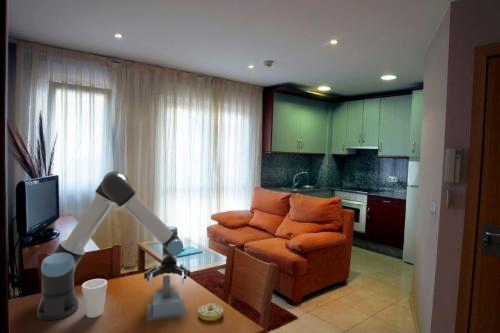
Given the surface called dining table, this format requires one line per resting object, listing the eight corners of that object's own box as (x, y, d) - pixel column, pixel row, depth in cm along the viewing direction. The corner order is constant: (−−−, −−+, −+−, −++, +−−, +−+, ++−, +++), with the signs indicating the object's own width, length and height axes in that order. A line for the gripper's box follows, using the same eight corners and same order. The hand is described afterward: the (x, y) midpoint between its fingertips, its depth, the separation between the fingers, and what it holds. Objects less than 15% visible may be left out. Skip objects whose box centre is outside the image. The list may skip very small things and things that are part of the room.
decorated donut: (224, 310, 137) (224, 301, 137) (221, 323, 126) (221, 314, 126) (200, 309, 137) (201, 300, 137) (196, 322, 126) (196, 313, 126)
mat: (146, 321, 126) (146, 320, 126) (147, 304, 139) (147, 304, 139) (186, 316, 130) (186, 315, 130) (183, 300, 144) (183, 299, 144)
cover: (152, 318, 128) (153, 283, 127) (152, 304, 138) (153, 273, 137) (180, 314, 131) (180, 280, 130) (178, 301, 142) (178, 270, 141)
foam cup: (96, 321, 125) (96, 289, 124) (76, 318, 127) (76, 287, 126) (111, 309, 134) (111, 280, 134) (93, 306, 136) (92, 277, 136)
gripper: (194, 269, 156) (196, 288, 135) (142, 272, 151) (135, 292, 130) (194, 254, 156) (196, 271, 135) (142, 257, 150) (135, 274, 130)
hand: (166, 281), depth 132 cm, fingers open, 13 cm apart
